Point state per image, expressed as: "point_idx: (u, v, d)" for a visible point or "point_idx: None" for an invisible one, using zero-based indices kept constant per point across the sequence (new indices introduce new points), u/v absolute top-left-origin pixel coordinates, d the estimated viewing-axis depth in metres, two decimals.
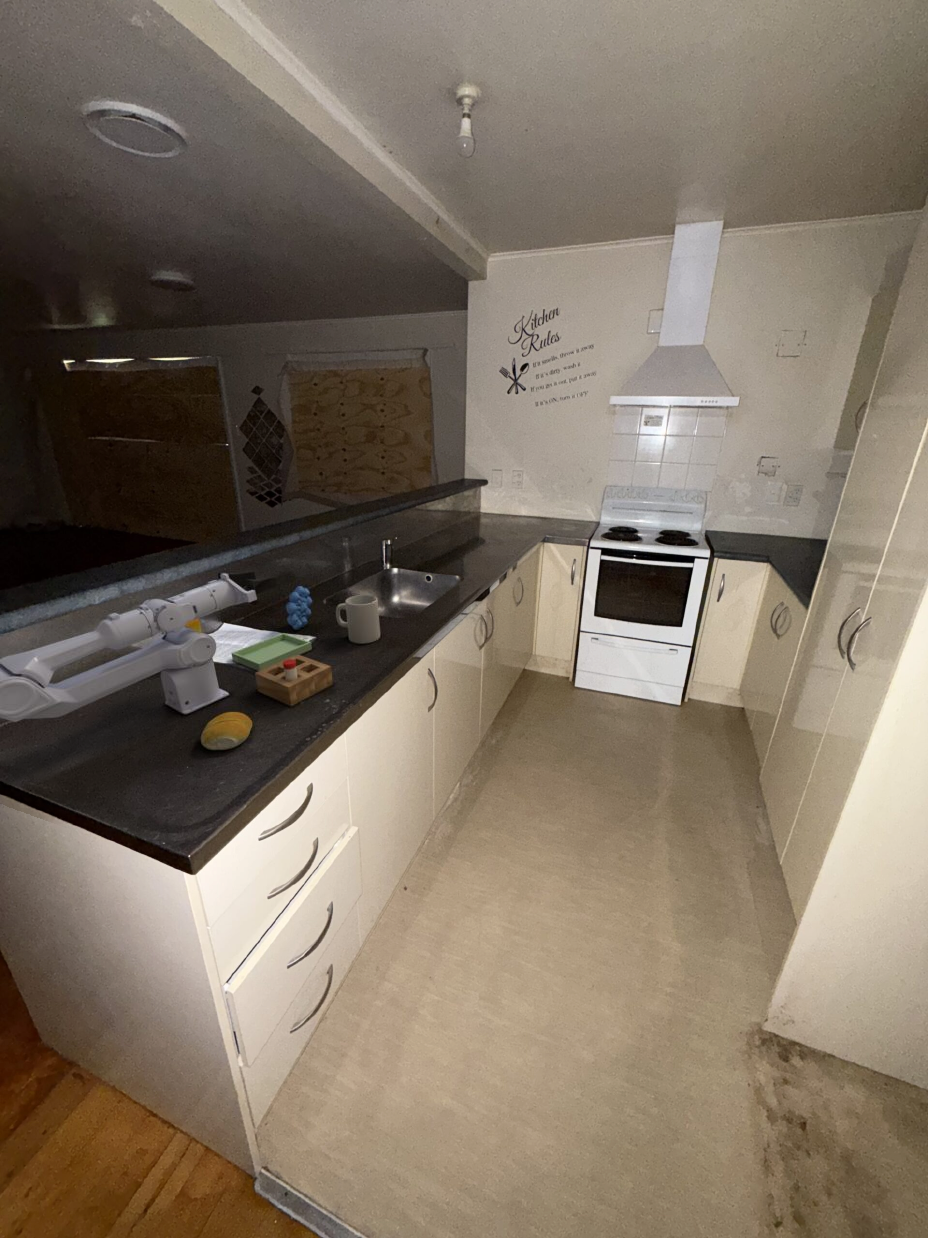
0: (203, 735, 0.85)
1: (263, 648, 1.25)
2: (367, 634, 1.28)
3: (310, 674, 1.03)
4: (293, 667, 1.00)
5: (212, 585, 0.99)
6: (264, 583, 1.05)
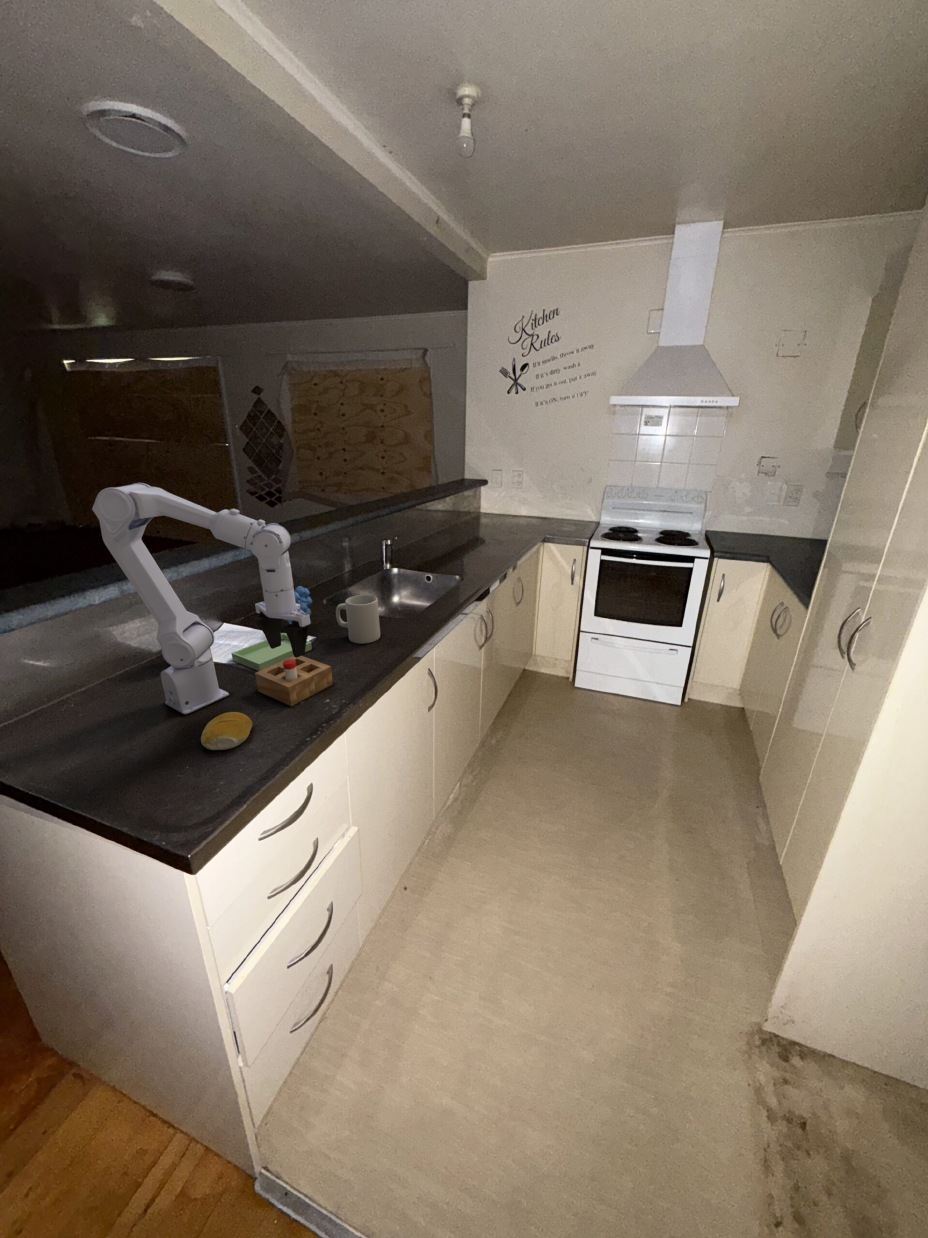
0: (203, 735, 0.85)
1: (263, 648, 1.25)
2: (367, 634, 1.28)
3: (310, 674, 1.03)
4: (293, 667, 1.00)
5: None
6: (301, 641, 0.97)
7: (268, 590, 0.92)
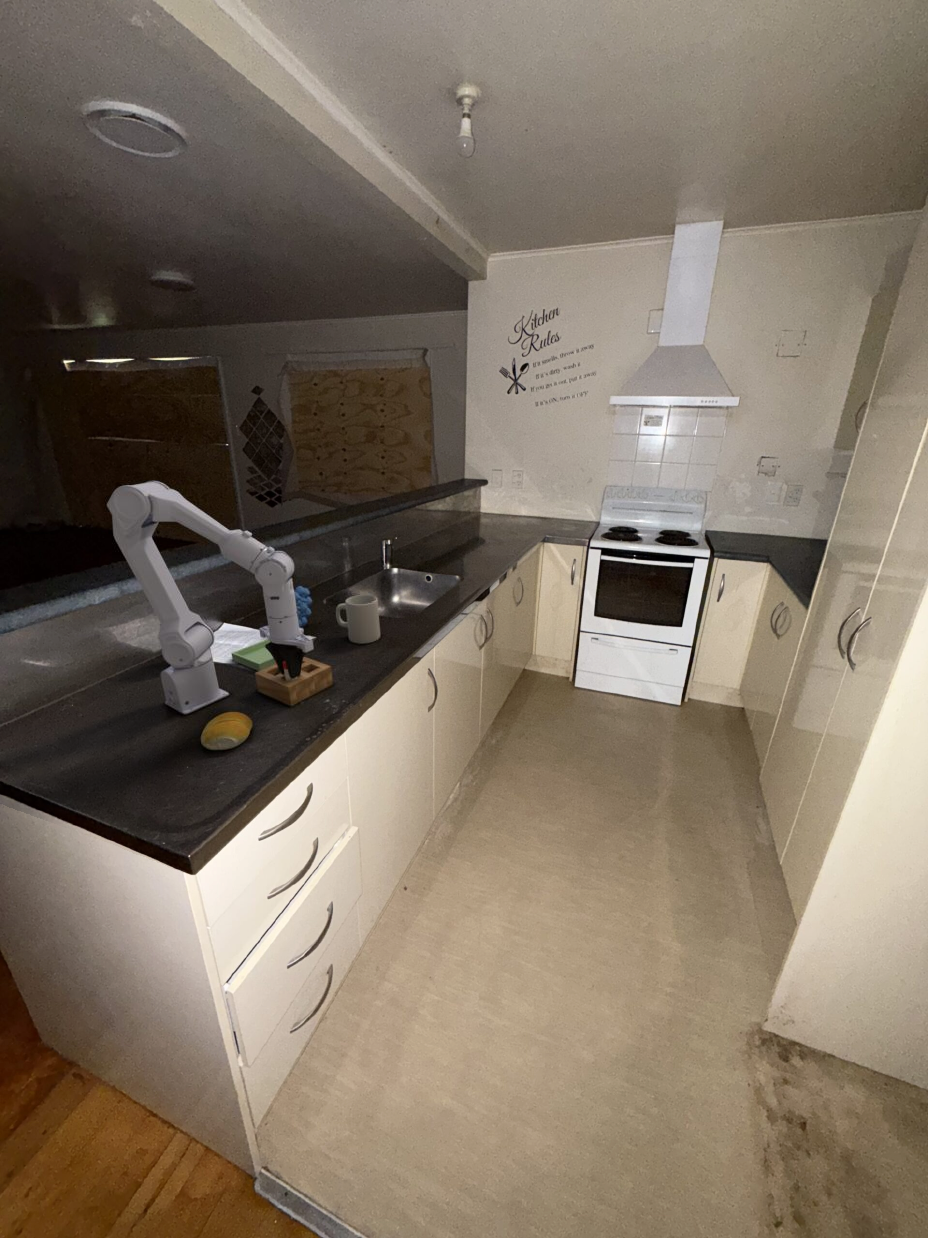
0: (203, 735, 0.85)
1: (263, 648, 1.25)
2: (367, 634, 1.28)
3: (310, 674, 1.03)
4: None
5: None
6: (297, 663, 1.00)
7: (272, 617, 0.94)
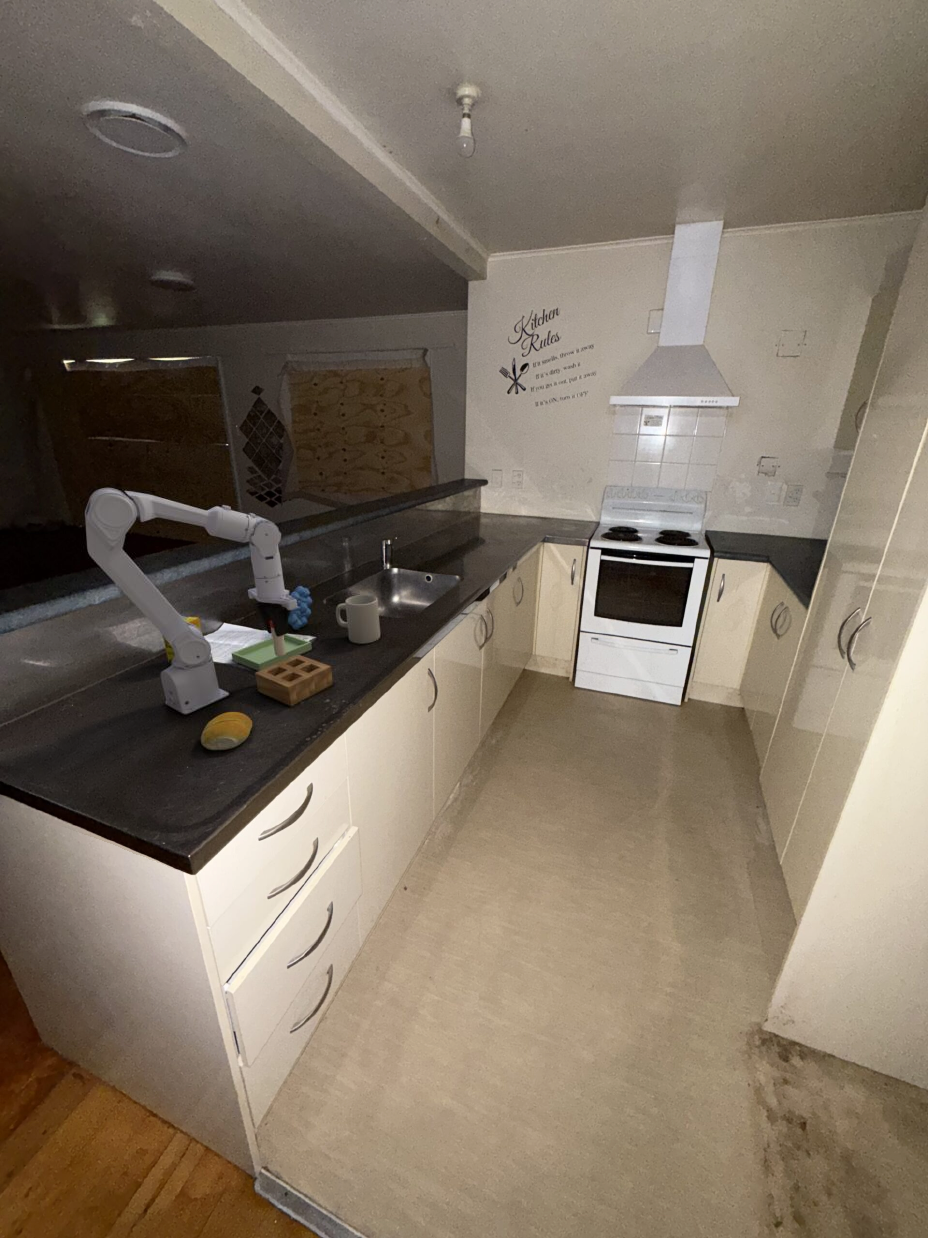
0: (203, 735, 0.85)
1: (263, 648, 1.25)
2: (367, 634, 1.28)
3: (310, 674, 1.03)
4: None
5: None
6: (283, 622, 1.07)
7: (267, 576, 1.01)
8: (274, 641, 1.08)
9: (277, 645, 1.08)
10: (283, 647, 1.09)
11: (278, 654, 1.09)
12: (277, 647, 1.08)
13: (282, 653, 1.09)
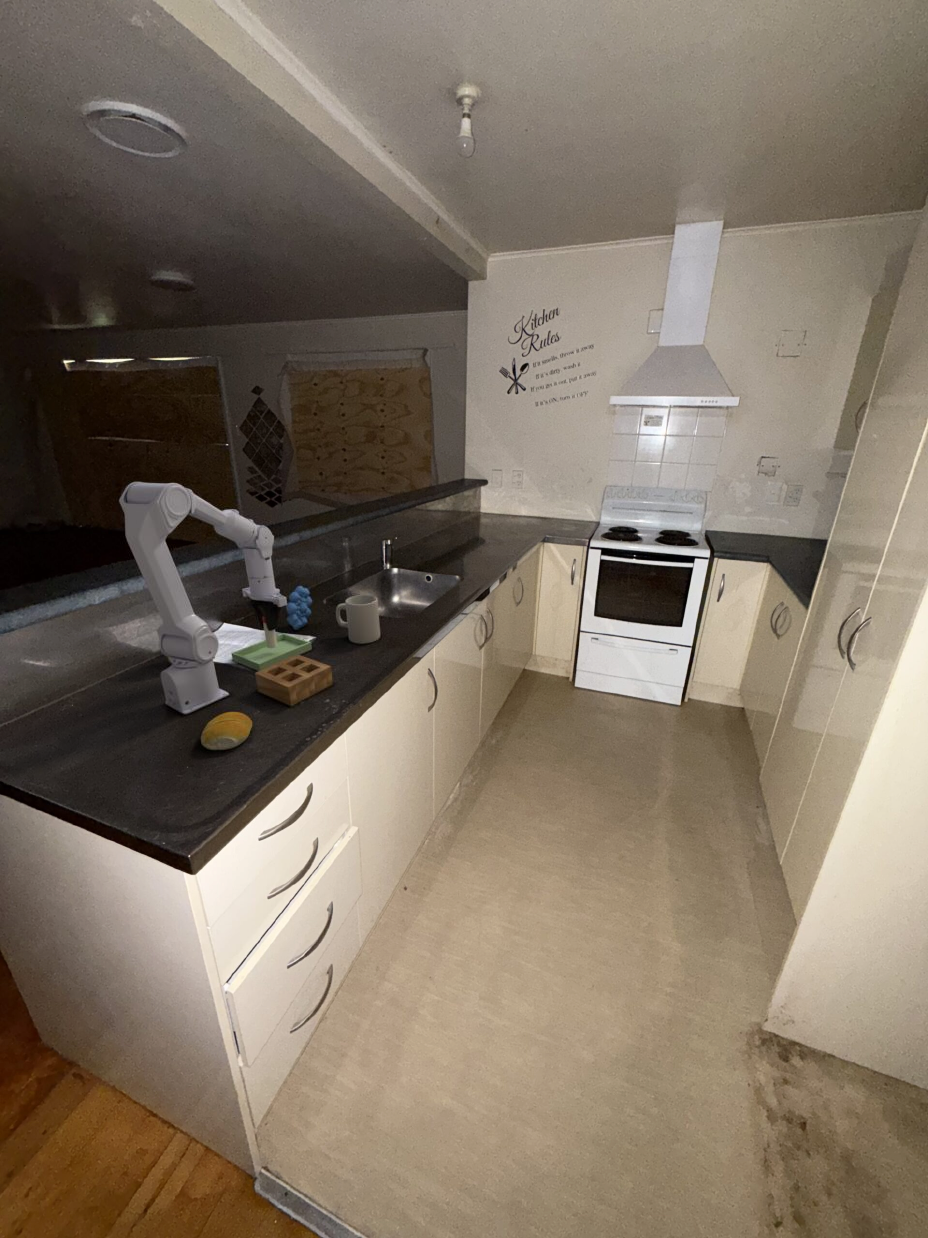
0: (203, 735, 0.85)
1: (263, 648, 1.25)
2: (367, 634, 1.28)
3: (310, 674, 1.03)
4: None
5: None
6: (274, 617, 1.18)
7: (266, 575, 1.13)
8: (266, 635, 1.20)
9: (269, 639, 1.20)
10: (274, 640, 1.21)
11: (270, 647, 1.20)
12: (269, 640, 1.20)
13: (274, 646, 1.21)
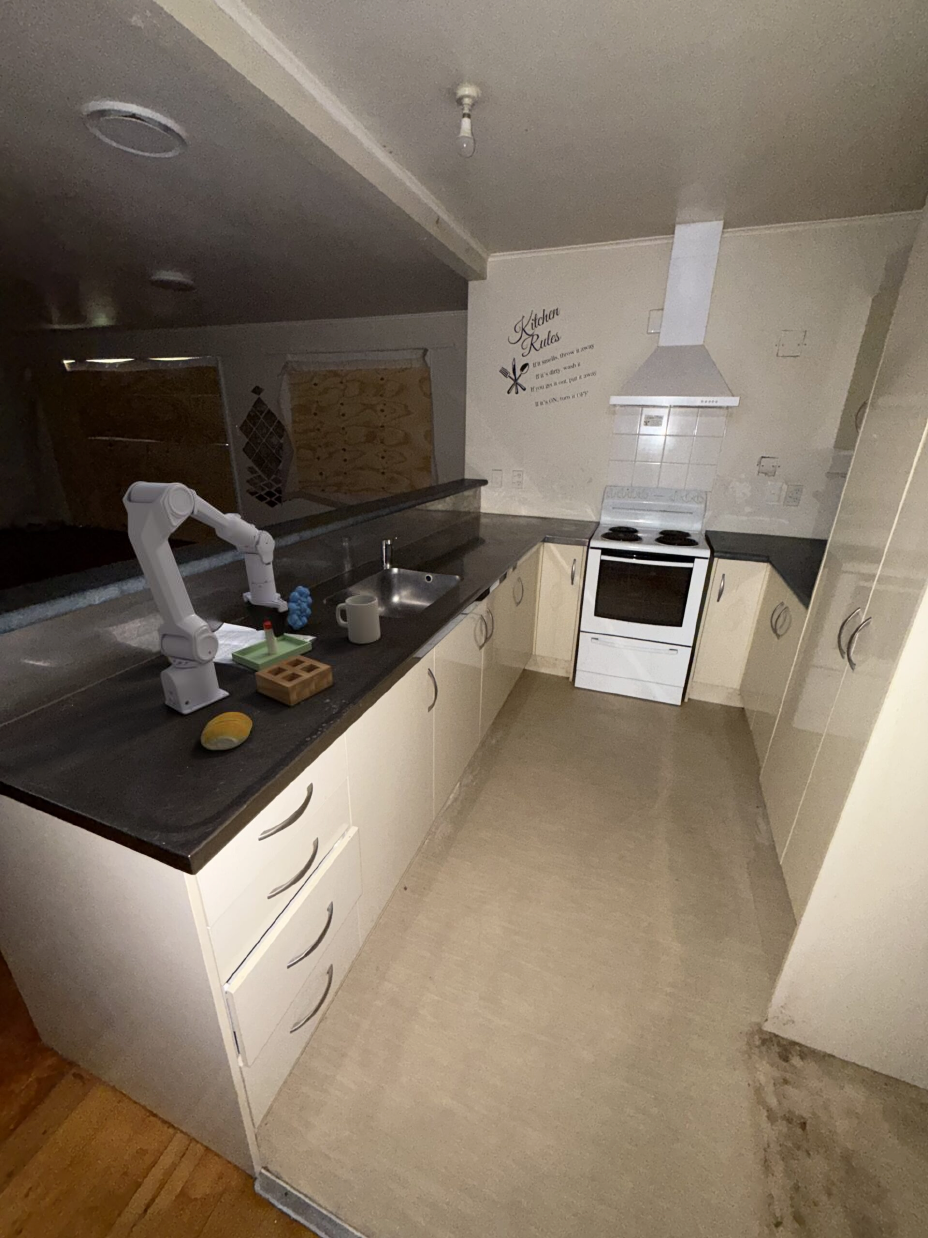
0: (203, 735, 0.85)
1: (263, 648, 1.25)
2: (367, 634, 1.28)
3: (310, 674, 1.03)
4: None
5: None
6: (281, 624, 1.17)
7: (267, 580, 1.14)
8: (267, 641, 1.20)
9: (270, 645, 1.20)
10: (275, 646, 1.21)
11: (271, 653, 1.21)
12: (269, 646, 1.20)
13: (274, 652, 1.21)
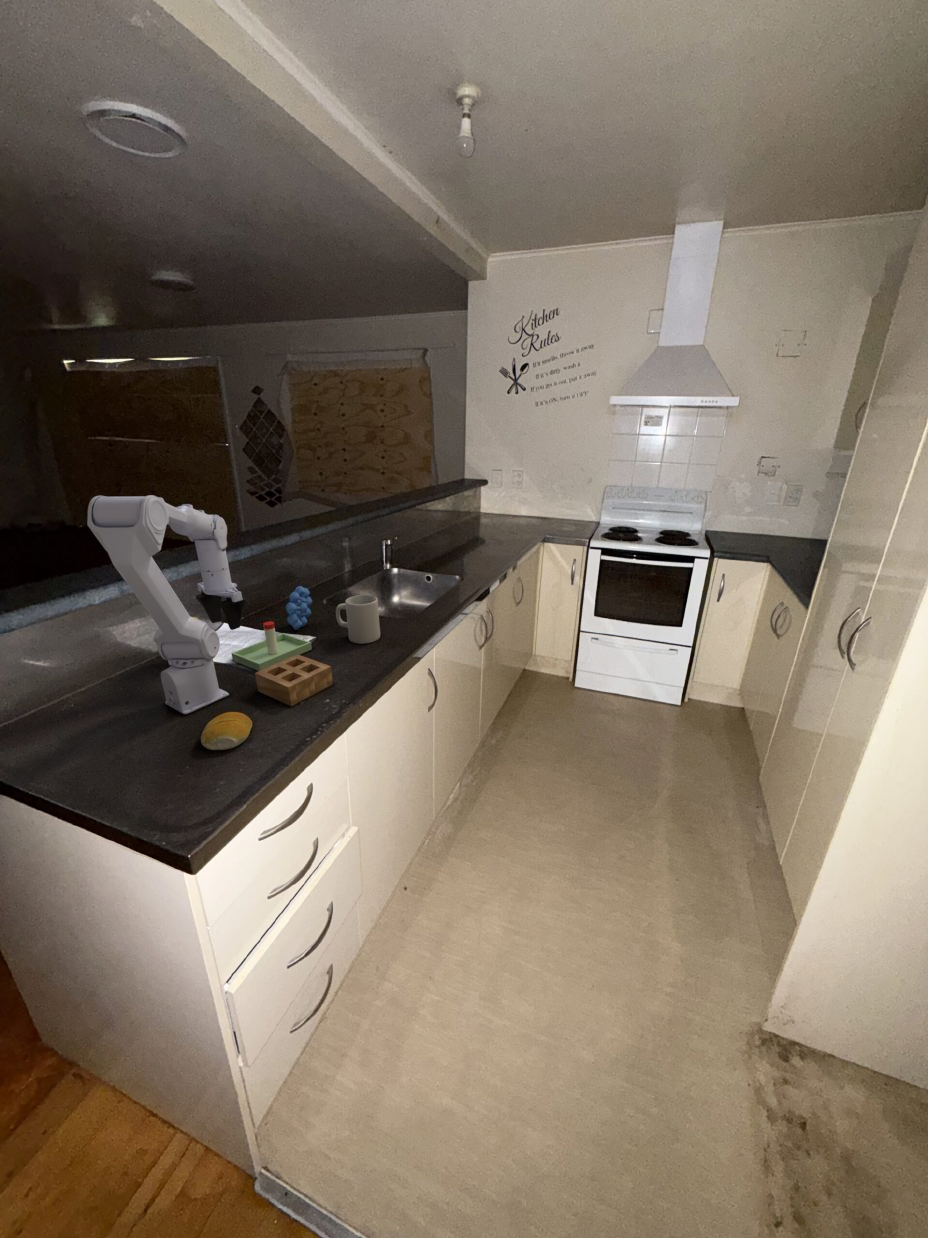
0: (203, 735, 0.85)
1: (263, 648, 1.25)
2: (367, 634, 1.28)
3: (310, 674, 1.03)
4: (272, 627, 1.19)
5: None
6: (236, 615, 1.10)
7: (224, 568, 1.07)
8: (267, 641, 1.20)
9: (270, 645, 1.20)
10: (275, 646, 1.21)
11: (271, 653, 1.21)
12: (269, 646, 1.20)
13: (274, 652, 1.21)
